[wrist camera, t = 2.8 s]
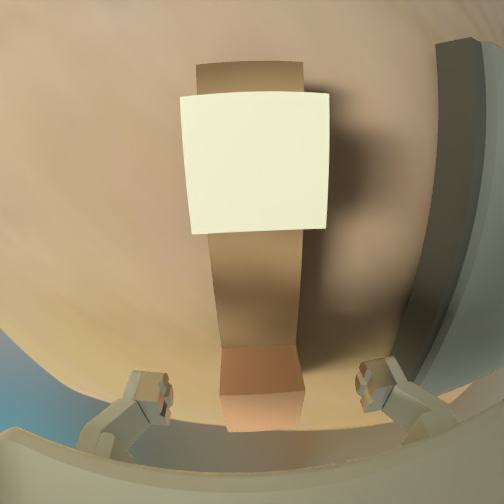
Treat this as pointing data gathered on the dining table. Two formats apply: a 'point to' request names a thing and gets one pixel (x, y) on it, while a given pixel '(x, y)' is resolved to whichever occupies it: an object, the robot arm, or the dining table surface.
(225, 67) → the tan wooden bar
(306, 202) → the block
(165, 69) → the dining table surface
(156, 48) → the dining table surface
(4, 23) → the dining table surface
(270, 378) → the block
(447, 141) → the dock
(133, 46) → the dining table surface
